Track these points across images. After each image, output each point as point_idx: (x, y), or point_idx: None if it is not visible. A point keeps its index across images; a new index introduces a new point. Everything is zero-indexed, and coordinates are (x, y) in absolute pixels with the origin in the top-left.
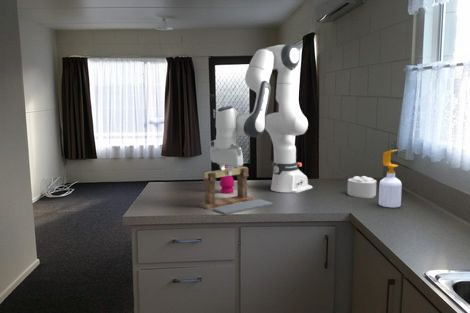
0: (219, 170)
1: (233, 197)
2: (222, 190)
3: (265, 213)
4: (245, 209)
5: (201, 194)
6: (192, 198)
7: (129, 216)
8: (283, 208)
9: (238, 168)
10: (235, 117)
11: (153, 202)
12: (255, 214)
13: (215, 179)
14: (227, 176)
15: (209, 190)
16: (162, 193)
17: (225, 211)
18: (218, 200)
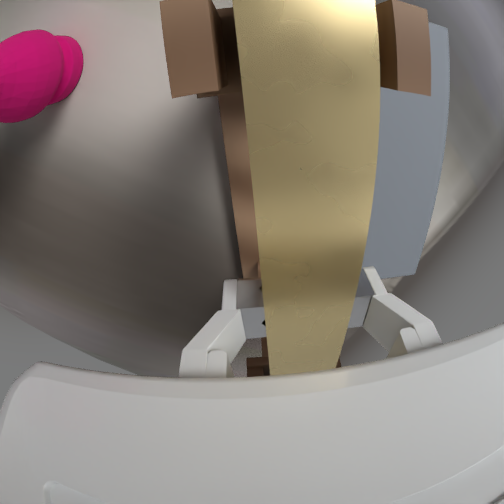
0: (286, 371)
1: (238, 108)
2: (54, 101)
3: (492, 157)
4: (435, 188)
5: (58, 202)
6: (115, 261)
7: None
8: (493, 57)
9: (353, 150)
10: None
11: (137, 355)
12: (477, 191)
13: (339, 361)
14: (5, 87)
15: None
16: (36, 301)
17: (404, 266)
18: (254, 215)
